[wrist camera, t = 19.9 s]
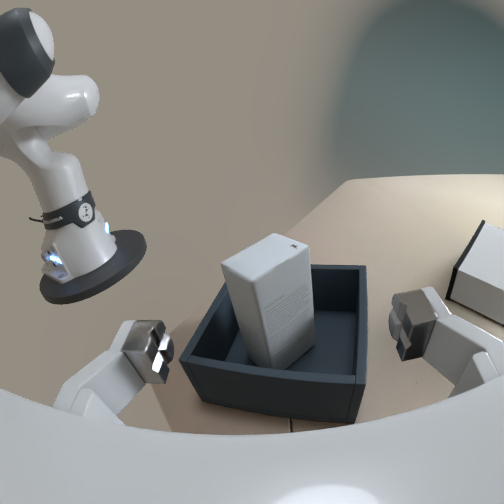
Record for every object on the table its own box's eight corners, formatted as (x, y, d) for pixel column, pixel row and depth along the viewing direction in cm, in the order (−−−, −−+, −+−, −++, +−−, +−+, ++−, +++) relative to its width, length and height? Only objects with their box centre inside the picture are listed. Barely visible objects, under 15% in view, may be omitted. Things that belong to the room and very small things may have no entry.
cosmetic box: (287, 327, 31) (274, 230, 25) (316, 345, 28) (311, 244, 22) (245, 358, 28) (218, 261, 22) (273, 381, 25) (252, 281, 19)
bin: (202, 400, 25) (178, 359, 22) (247, 306, 37) (236, 262, 33) (354, 423, 20) (365, 384, 17) (362, 312, 32) (366, 265, 28)
